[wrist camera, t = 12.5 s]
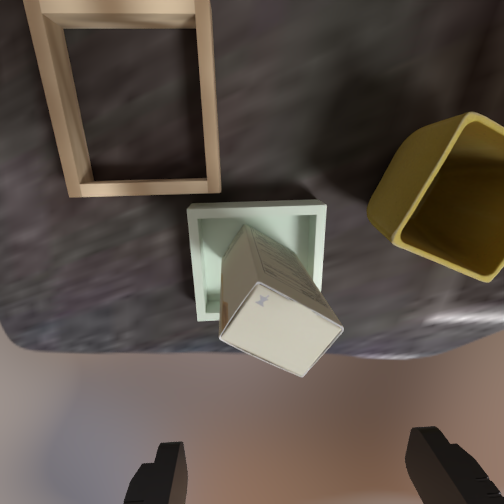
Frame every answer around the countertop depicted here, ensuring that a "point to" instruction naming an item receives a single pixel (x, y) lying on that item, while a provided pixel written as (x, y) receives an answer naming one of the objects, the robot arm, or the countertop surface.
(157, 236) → the countertop surface
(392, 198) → the flower pot
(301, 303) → the skincare box
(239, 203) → the parts tray
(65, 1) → the frame
